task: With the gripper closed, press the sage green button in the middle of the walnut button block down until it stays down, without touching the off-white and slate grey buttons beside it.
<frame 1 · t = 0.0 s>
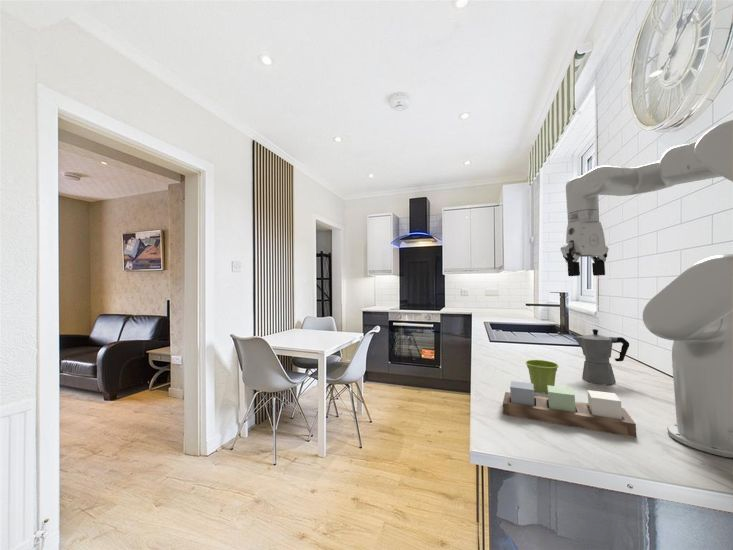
hand: (586, 275, 86), 37 cm above the worktop, tool pointing down, fingers open, 9 cm apart
sage button: (560, 399, 75), point 4 cm above the worktop, slide at 0.0 cm
grey button: (522, 394, 79), point 4 cm above the worktop, slide at 0.0 cm
button housing: (561, 417, 75), on the worktop
coffeepot: (602, 381, 101), on the worktop
plant pot: (543, 390, 94), on the worktop
white button: (604, 405, 71), point 5 cm above the worktop, slide at 0.0 cm
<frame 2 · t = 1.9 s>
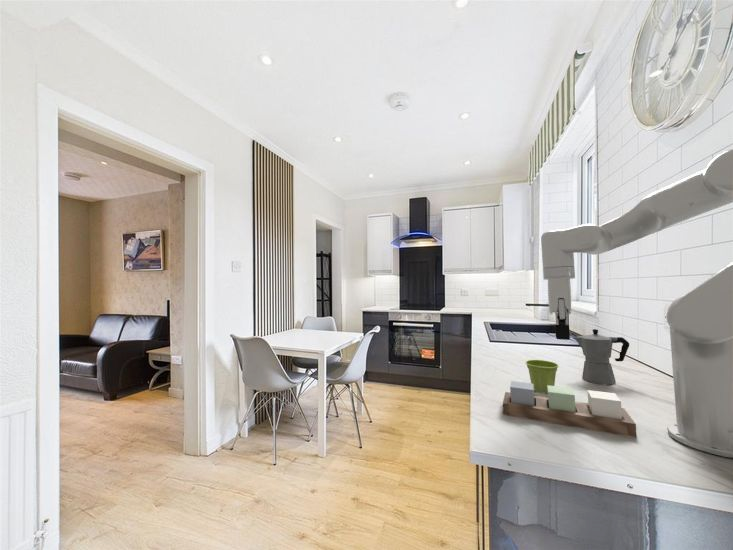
hand: (562, 338, 81), 19 cm above the worktop, tool pointing down, fingers closed
nothing on the worktop moved.
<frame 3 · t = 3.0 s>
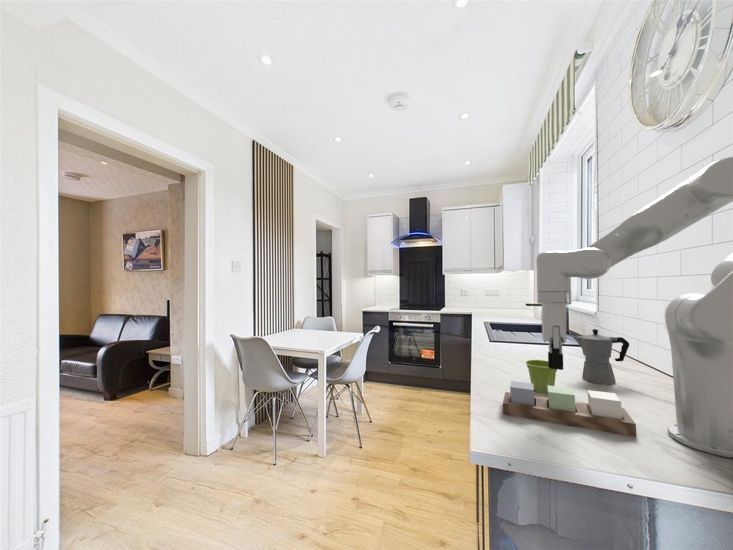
hand: (555, 368, 76), 13 cm above the worktop, tool pointing down, fingers closed
nothing on the worktop moved.
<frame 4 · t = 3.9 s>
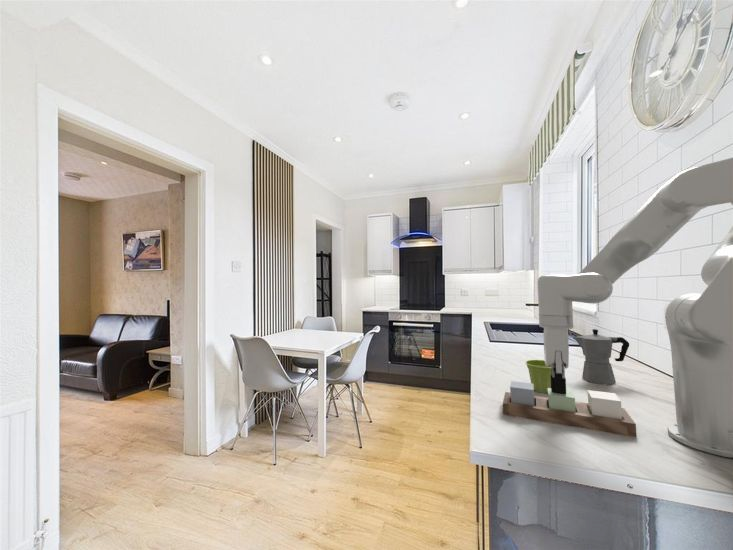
hand: (558, 392, 75), 6 cm above the worktop, tool pointing down, fingers closed
sage button: (561, 402, 75), point 4 cm above the worktop, slide at 0.7 cm, touching gripper
everything else where it was.
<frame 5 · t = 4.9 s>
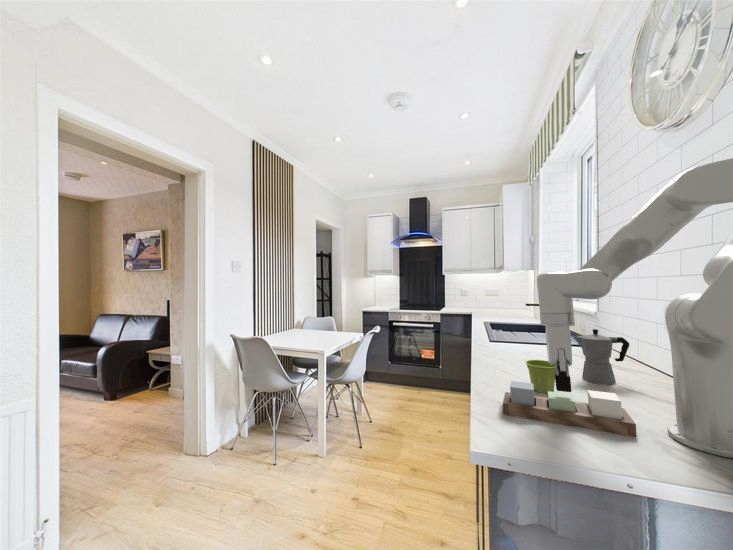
hand: (563, 390, 75), 7 cm above the worktop, tool pointing down, fingers closed
sage button: (561, 406, 75), point 3 cm above the worktop, slide at 1.6 cm
everything else where it was.
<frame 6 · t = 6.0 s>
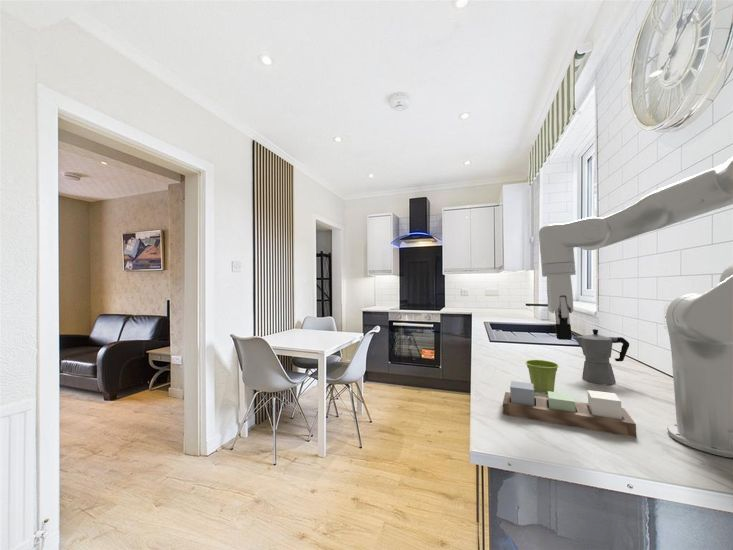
hand: (564, 339, 77), 20 cm above the worktop, tool pointing down, fingers closed
nothing on the worktop moved.
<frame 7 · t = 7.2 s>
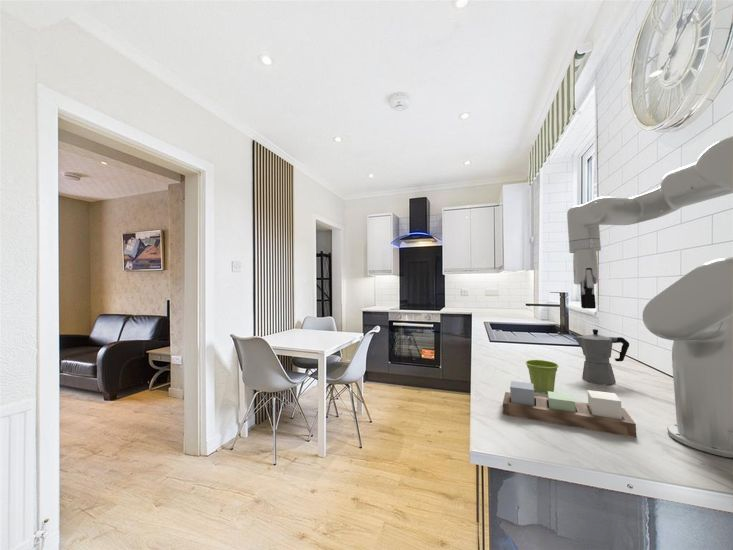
hand: (588, 308, 85), 27 cm above the worktop, tool pointing down, fingers closed
nothing on the worktop moved.
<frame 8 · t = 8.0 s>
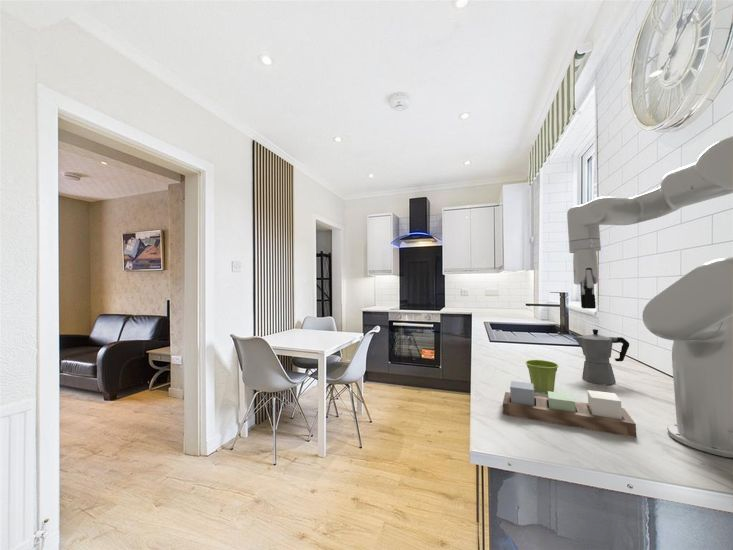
hand: (588, 308, 85), 27 cm above the worktop, tool pointing down, fingers closed
nothing on the worktop moved.
at the end: sage button slide at 1.6 cm; white button slide at 0.0 cm; grey button slide at 0.0 cm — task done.
